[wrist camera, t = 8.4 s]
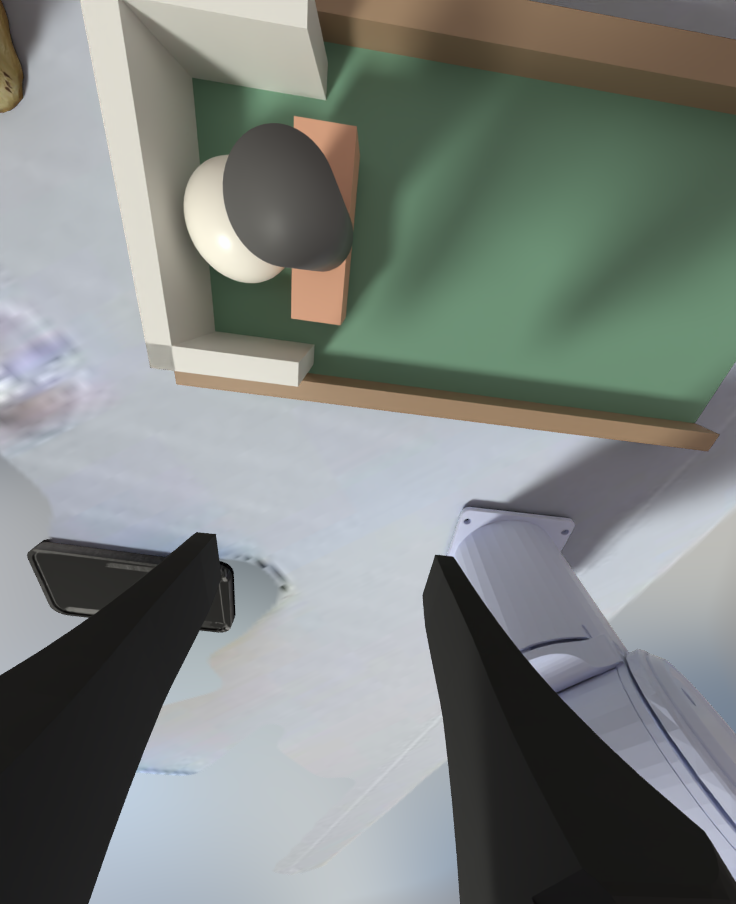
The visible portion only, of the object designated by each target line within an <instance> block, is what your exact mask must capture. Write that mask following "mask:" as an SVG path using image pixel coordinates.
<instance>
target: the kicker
mask: <svg viewBox="0 0 736 904" xmlns="http://www.w3.org/2000/svg"><path fill="white" fill-rule="evenodd" d="M359 162H360V151H359V142H358V133H357V126H351V125H345V124H339V123H333V122H327V121H321V120H315V119H309V118H303V117H297V116H294V127H291V126H289V125H285V124H280V123H267V124H262V125H259V126H256V127H254V128H252V129H250V130H249V131H247V132H246V133H245V134H243V135H242V136H241V137H240V138H239V139H238V141H237V142H236V143H235V145H234V146H233V148H232V150H231V152H230V154H229V156H228V158H227V161H226V164H225V169H224V174H223V198H224V204H225V209H226V212H227V215H228V218H229V221H230V223H231V226H232V228H233V230H234V231H235V233H236V235H237V236H238V238H239V239H240V241H241V242H242V243H243V244H244V246H245V247H246V248H247V249H248V250H249V251H250V252H251V253H253V254H254V255H255V256H256V257H258V258H259V259H261V260H263V261H265V262H267V263H269V264H272V265H275V266H279V267H286V268H292V290H291V319H298V320H305V321H313V322H320V323H327V324H335V325H341V324H342V322H343V321H344V320H345V318H346V309H347V298H348V286H349V275H350V264H351V252H352V243H353V230H354V218H355V207H356V196H357V184H358V173H359Z"/></svg>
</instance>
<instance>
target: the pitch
mask: <svg viewBox="0 0 736 904" xmlns="http://www.w3.org/2000/svg"><path fill="white" fill-rule="evenodd" d="M315 4H316V8H317V13H318V18H319V23H320V27H321V32H322V37H323V42H324V46H325V51H326V56H327V60H328V71H327V93H326V100H321V99H315V98H309V97H303V96H297V95H291V94H285V93H280V92H274V91H268V90H262V89H256V88H250V87H244V86H238V85H232V84H227V83H221V82H215V81H209V80H203V79H197V78H192V83H193V93H194V104H195V115H196V126H197V137H198V148H199V159H200V165H201V164H202V163H203V162H205V161H207V160H208V159H210V158H213V157H216V156H220V155H229V154H230V152H231V150H232V148H233V146H234V145H235V143H236V142H237V141H238V139H239V138H240V137H241V136H242V135H243V134H245V133H246V132H247V131H249V130H250V129H252V128H254V127H256V126H259V125H262V124H267V123H280V124H285V125H289V126H291V127H294V116H297V117H303V118H309V119H315V120H321V121H327V122H333V123H339V124H345V125H351V126H357V133H358V142H359V151H360V162H359V173H358V184H357V196H356V207H355V218H354V230H353V243H352V252H351V264H350V275H349V286H348V298H347V309H346V318H345V320H344V321H343V322H342V324H341V325H335V324H327V323H320V322H313V321H305V320H298V319H291V290H292V268H286V267H285V268H284V269H283V270H282V271H281V272H280V273H279V274H278V275H276V276H275V277H273V278H271V279H269V280H267V281H263V282H260V283H244V282H239V281H236V280H233V279H230V278H228V277H226V276H224V275H223V274H221V273H219V272H218V271H217V270H215V269H214V268H213V267H212V266H211V265H210V264H209V269H210V280H211V290H212V301H213V312H214V323H215V331H217V332H224V333H232V334H239V335H247V336H254V337H262V338H269V339H276V340H284V341H291V342H299V343H306V344H314V364H313V366H312V367H311V369H310V370H309V372H308V373H307V374H306V376H305V377H304V379H303V380H302V382H301V383H300V384H299V386H298V387H296V386H288V385H280V384H273V383H265V382H257V381H249V380H241V379H233V378H226V377H218V376H210V375H202V374H194V373H187V372H179V371H174V372H175V379H176V384H178V385H186V386H194V387H202V388H210V389H218V390H225V391H233V392H241V393H249V394H257V395H265V396H273V397H281V398H289V399H297V400H305V401H313V402H321V403H329V404H336V405H344V406H352V407H360V408H368V409H376V410H384V411H392V412H400V413H408V414H416V415H424V416H432V417H440V418H447V419H455V420H463V421H471V422H479V423H487V424H495V425H503V426H511V427H519V428H527V429H535V430H543V431H551V432H558V433H566V434H574V435H582V436H590V437H598V438H606V439H614V440H622V441H630V442H638V443H646V444H654V445H662V446H669V447H677V448H685V449H693V450H701V451H709V449H710V448H711V446H712V445H713V444H714V442H715V441H716V439H717V438H718V437H719V435H720V434H717V433H715V432H713V431H711V430H709V429H706V428H704V427H702V426H700V425H697V424H695V422H696V421H697V419H698V418H699V416H700V415H701V413H702V412H703V410H704V408H705V407H706V405H707V404H708V402H709V401H710V399H711V398H712V396H713V395H714V393H715V392H716V390H717V389H718V387H719V386H720V384H721V383H722V381H723V380H724V378H725V377H726V375H727V374H728V372H729V371H730V369H731V368H732V366H733V364H734V363H735V361H736V40H735V39H729V38H724V37H719V36H714V35H708V34H703V33H698V32H692V31H687V30H682V29H677V28H671V27H666V26H661V25H656V24H650V23H645V22H640V21H635V20H629V19H624V18H619V17H613V16H608V15H603V14H598V13H592V12H587V11H582V10H577V9H571V8H566V7H561V6H556V5H550V4H545V3H540V2H534V1H529V0H315Z"/></svg>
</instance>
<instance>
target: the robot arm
mask: <svg viewBox="0 0 736 904" xmlns="http://www.w3.org/2000/svg"><path fill="white" fill-rule="evenodd" d="M465 519H469V520H467V521H464V520H465ZM574 527H575V523H574V522H573V520H572V519H570V518H563V517H554V516H546V515H537V514H528V513H519V512H510V511H502V510H493V509H484V508H475V507H466V508H464V509H463V510H462V511H461V513H460V516H459V519H458V522H457V525H456V528H455V531H454V534H453V537H452V540H451V543H450V546H449V549H448V552H447V555H446V556H442V555H435V558H434V561H433V564H432V567H431V570H430V573H429V576H428V580H427V583H426V586H425V589H424V592H423V607H424V618H425V628H426V633H427V638H428V644H429V649H430V654H431V659H432V664H433V669H434V674H435V679H436V684H437V689H438V694H439V699H440V704H441V710H442V716H443V723H444V731H445V740H446V749H447V757H448V766H449V775H450V786H451V796H452V806H453V817H454V829H455V841H456V853H457V866H458V878H459V879H458V881H459V894H460V904H736V734H735V733H734V732H733V730H732V729H731V728H730V727H729V726H728V724H727V723H726V722H725V721H724V720H723V718H722V717H721V716H720V715H719V714H718V713H717V711H716V710H715V709H714V708H713V707H712V706H711V705H710V704H709V702H708V701H707V700H706V699H705V698H704V697H703V696H702V695H701V693H700V692H699V691H698V690H697V689H696V688H695V687H694V686H693V685H692V684H691V683H690V682H689V681H688V680H687V679H686V678H685V677H684V676H683V675H682V674H681V673H680V672H679V671H678V670H677V669H676V668H675V667H674V666H673V665H672V664H671V663H669V662H668V661H667V660H665V659H663V658H660V657H657V656H654V655H651V654H649V653H648V652H646V651H644V650H641V649H637V650H635V651H632V652H630V653H629V652H628V650H627V649H626V647H625V646H624V645H623V643H622V642H621V640H620V639H619V637H618V636H617V634H616V633H615V631H614V630H613V628H612V627H611V625H610V624H609V623H608V621H607V620H606V618H605V617H604V615H603V614H602V612H601V611H600V609H599V608H598V606H597V605H596V603H595V602H594V601H593V599H592V598H591V596H590V595H589V593H588V592H587V590H586V589H585V587H584V586H583V584H582V583H581V582H580V580H579V579H578V577H577V576H576V574H575V573H574V571H573V570H572V568H571V567H570V565H569V564H568V562H567V561H566V560H565V558H564V557H563V555H562V554H561V551H562V549H563V547H564V545H565V544H566V542H567V540H568V538H569V536H570V535H571V533H572V531H573V529H574ZM563 530H564V531H563ZM221 578H222V577H221V570H220V562H219V555H218V547H217V540H216V534H209V533H198V532H196V533H195V534H194V535H192V536H191V537H190V538H189V539H187V540H186V541H185V542H184V543H183V544H182V545H180V546H179V547H178V548H177V549H176V550H174V551H173V552H172V553H171V554H170V555H169V556H167V557H166V558H165V559H164V560H163V561H161V562H160V563H159V564H158V565H157V566H155V567H154V568H153V569H152V570H151V571H149V572H148V573H147V574H146V575H144V576H143V577H142V578H141V579H139V580H138V581H137V582H136V583H134V584H133V585H132V586H131V587H129V588H128V589H127V590H126V591H124V592H123V593H122V594H120V595H119V596H118V597H116V598H115V599H114V600H112V601H111V602H110V603H108V604H107V605H106V606H104V607H103V608H102V609H100V610H99V611H98V612H96V613H95V614H94V615H92V616H91V617H89V618H88V619H87V620H85V621H84V622H82V623H81V624H80V625H78V626H77V627H75V628H74V629H73V630H71V631H70V632H68V633H67V634H65V635H63V636H62V637H60V638H59V639H57V640H56V641H54V642H53V643H51V644H50V645H49V646H47V647H46V648H44V649H42V650H41V651H39V652H38V653H36V654H34V655H33V656H31V657H30V658H28V659H26V660H25V661H23V662H22V663H20V664H18V665H16V666H15V667H13V668H12V669H10V670H8V671H7V672H5V673H3V674H2V675H0V904H88V903H89V900H90V898H91V895H92V892H93V889H94V886H95V883H96V880H97V877H98V874H99V872H100V869H101V866H102V863H103V860H104V857H105V854H106V851H107V849H108V846H109V843H110V840H111V837H112V835H113V832H114V829H115V826H116V824H117V821H118V818H119V815H120V813H121V810H122V807H123V805H124V802H125V799H126V796H127V794H128V791H129V788H130V786H131V783H132V781H133V778H134V776H135V773H136V770H137V768H138V765H139V763H140V760H141V758H142V755H143V752H144V750H145V747H146V745H147V742H148V740H149V737H150V735H151V732H152V730H153V727H154V725H155V723H156V720H157V718H158V715H159V713H160V710H161V708H162V705H163V703H164V701H165V699H166V696H167V694H168V692H169V690H170V688H171V686H172V684H173V682H174V680H175V678H176V676H177V674H178V672H179V670H180V668H181V666H182V664H183V662H184V660H185V658H186V656H187V654H188V652H189V650H190V648H191V646H192V644H193V642H194V640H195V638H196V636H197V634H198V632H199V630H200V628H201V626H202V624H203V622H204V620H205V618H206V616H207V614H208V612H209V610H210V608H211V605H212V603H213V600H214V597H215V595H216V592H217V589H218V586H219V584H220V581H221Z"/></svg>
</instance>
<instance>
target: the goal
mask: <svg viewBox="0 0 736 904" xmlns="http://www.w3.org/2000/svg"><path fill="white" fill-rule="evenodd" d="M80 2H81V8H82V13H83V18H84V23H85V29H86V34H87V39H88V44H89V50H90V55H91V60H92V65H93V70H94V76H95V81H96V86H97V91H98V97H99V102H100V107H101V112H102V118H103V123H104V128H105V133H106V138H107V144H108V149H109V154H110V159H111V165H112V170H113V175H114V180H115V185H116V191H117V196H118V201H119V206H120V212H121V217H122V222H123V227H124V233H125V238H126V243H127V248H128V253H129V259H130V264H131V269H132V274H133V280H134V285H135V290H136V295H137V301H138V306H139V311H140V316H141V321H142V327H143V332H144V337H145V342H146V348H147V353H148V358H149V363H150V368H155V369H163V370H171V371H179V372H187V373H194V374H202V375H210V376H218V377H226V378H233V379H241V380H249V381H257V382H265V383H273V384H280V385H288V386H296V387H298V386H299V384H300V383H301V382H302V380H303V379H304V377H305V376H306V374H307V373H308V372H309V370H310V369H311V367H312V366H313V364H314V344H306V343H299V342H291V341H284V340H276V339H269V338H262V337H254V336H247V335H239V334H232V333H224V332H217V331H215V323H214V312H213V301H212V290H211V280H210V269H209V263H208V262H207V261H206V260H205V259H204V258H203V257H202V256H201V254H200V253H199V251H198V250H197V248H196V247H195V245H194V243H193V241H192V239H191V237H190V235H189V232H188V229H187V226H186V222H185V216H184V195H185V190H186V187H187V184H188V181H189V179H190V177H191V175H192V174H193V172H194V171H195V170H196V169H197V167H199V166H200V159H199V148H198V137H197V126H196V115H195V104H194V93H193V83H192V78H197V79H203V80H209V81H215V82H221V83H227V84H232V85H238V86H244V87H250V88H256V89H262V90H268V91H274V92H280V93H285V94H291V95H297V96H303V97H309V98H315V99H321V100H326V93H327V71H328V60H327V56H326V51H325V46H324V42H323V37H322V32H321V27H320V23H319V18H318V13H317V8H316V4H315V0H80Z"/></svg>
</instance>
